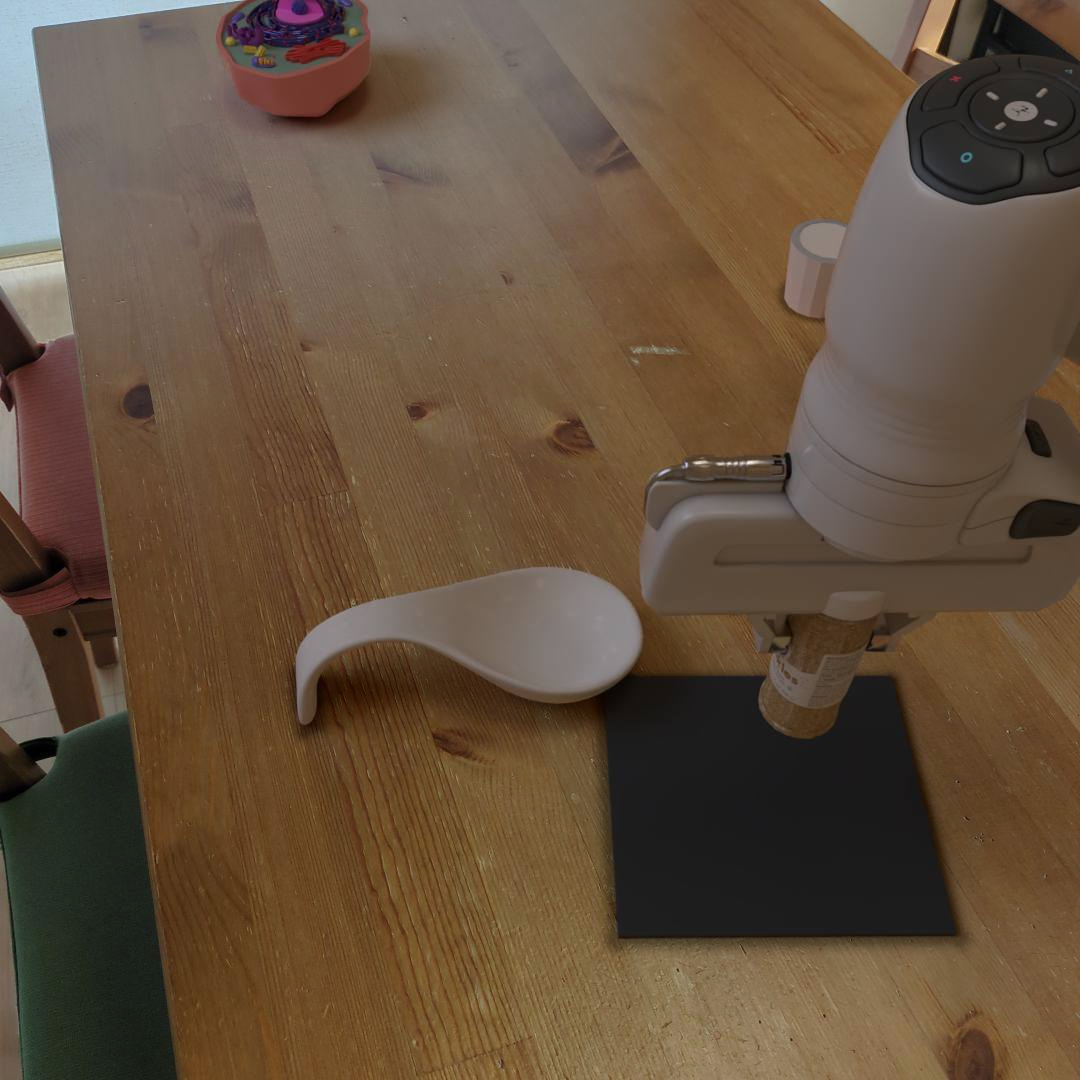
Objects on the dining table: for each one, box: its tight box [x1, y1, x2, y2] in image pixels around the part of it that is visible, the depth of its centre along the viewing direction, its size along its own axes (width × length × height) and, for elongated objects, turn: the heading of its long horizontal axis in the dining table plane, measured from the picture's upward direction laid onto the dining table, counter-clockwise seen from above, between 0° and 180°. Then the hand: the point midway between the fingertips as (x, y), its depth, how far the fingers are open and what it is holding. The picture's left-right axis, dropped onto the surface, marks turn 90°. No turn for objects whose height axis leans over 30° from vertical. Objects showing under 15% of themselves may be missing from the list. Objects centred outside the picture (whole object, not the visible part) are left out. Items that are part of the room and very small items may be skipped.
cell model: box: [215, 0, 372, 118], centre depth 122 cm, size 17×20×11 cm
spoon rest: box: [295, 566, 644, 726], centre depth 74 cm, size 24×12×7 cm, turn 102°
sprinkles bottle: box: [758, 591, 886, 739], centre depth 58 cm, size 5×5×14 cm
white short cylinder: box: [784, 218, 848, 319], centre depth 102 cm, size 7×7×7 cm
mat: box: [603, 675, 958, 939], centre depth 71 cm, size 20×18×1 cm
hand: (822, 642), depth 58 cm, fingers closed on sprinkles bottle, 4 cm apart
